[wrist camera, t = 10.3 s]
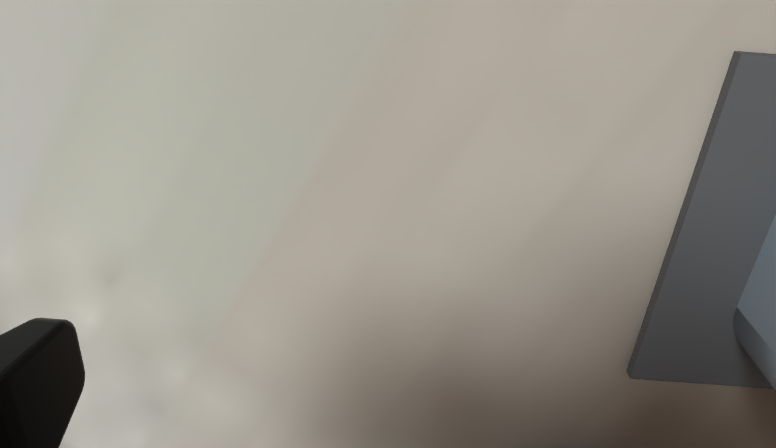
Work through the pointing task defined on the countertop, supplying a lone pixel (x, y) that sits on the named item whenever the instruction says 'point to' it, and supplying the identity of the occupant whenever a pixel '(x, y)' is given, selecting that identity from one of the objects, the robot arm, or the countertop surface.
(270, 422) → the countertop surface
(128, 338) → the countertop surface
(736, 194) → the mat
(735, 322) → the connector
